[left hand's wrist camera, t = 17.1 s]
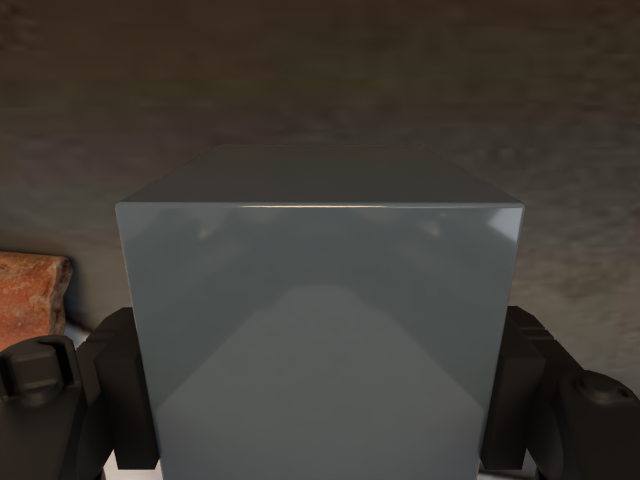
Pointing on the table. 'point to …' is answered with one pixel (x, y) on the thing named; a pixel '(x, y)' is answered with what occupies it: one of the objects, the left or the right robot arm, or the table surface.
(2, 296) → the ceramic shard
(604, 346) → the table surface
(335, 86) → the table surface
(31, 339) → the left robot arm
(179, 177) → the grey cube
